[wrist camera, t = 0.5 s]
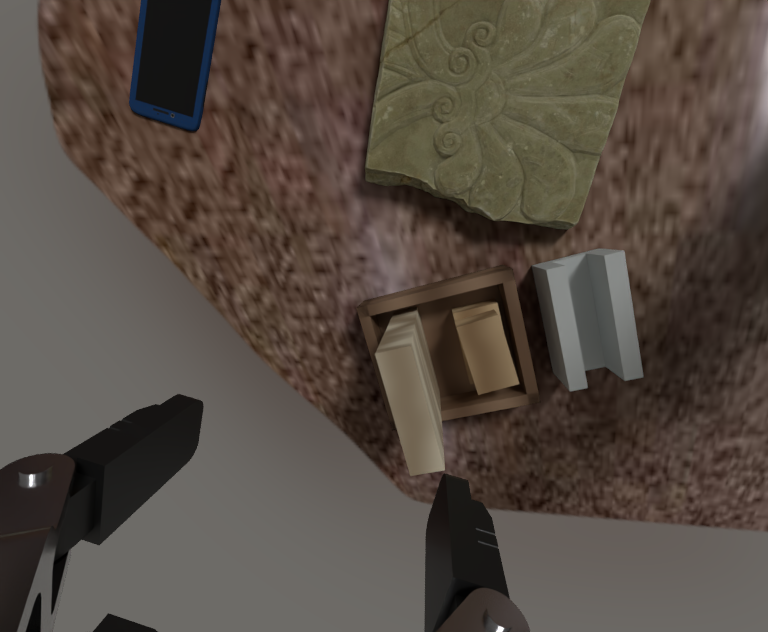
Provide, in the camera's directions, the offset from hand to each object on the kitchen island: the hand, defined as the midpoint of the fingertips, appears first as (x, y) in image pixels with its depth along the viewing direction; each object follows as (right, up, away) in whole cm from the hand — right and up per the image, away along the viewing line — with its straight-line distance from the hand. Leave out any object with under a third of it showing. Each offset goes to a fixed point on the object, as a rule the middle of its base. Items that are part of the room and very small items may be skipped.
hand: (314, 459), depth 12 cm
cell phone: (-17, +30, +23) cm, 42 cm away
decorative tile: (+11, +23, +21) cm, 33 cm away
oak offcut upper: (+11, +2, +22) cm, 25 cm away
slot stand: (+20, +5, +23) cm, 31 cm away
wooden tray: (+9, +2, +25) cm, 27 cm away
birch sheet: (+6, +1, +25) cm, 26 cm away
